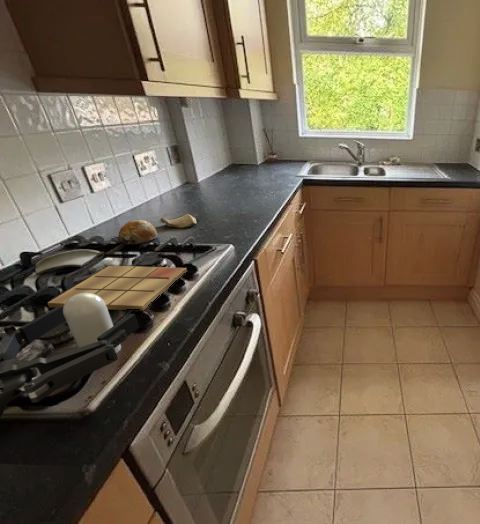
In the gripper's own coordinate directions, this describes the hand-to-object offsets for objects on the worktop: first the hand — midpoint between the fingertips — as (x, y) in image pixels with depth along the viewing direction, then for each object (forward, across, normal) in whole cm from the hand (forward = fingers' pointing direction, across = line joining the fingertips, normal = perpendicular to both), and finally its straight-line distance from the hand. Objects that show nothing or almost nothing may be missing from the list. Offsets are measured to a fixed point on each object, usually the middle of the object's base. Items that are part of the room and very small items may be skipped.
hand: (99, 316), depth 57 cm
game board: (+19, -14, -6) cm, 24 cm away
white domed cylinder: (-2, 0, -6) cm, 7 cm away
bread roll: (+46, -33, -7) cm, 58 cm away
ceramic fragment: (+27, -37, -7) cm, 46 cm away
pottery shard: (+62, -30, -7) cm, 69 cm away
